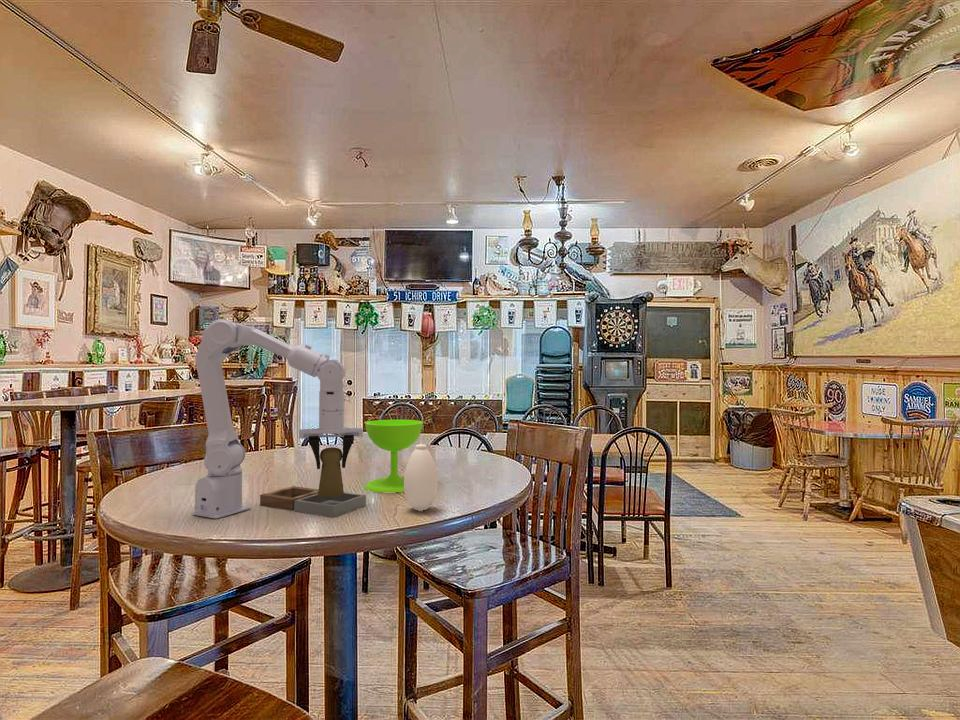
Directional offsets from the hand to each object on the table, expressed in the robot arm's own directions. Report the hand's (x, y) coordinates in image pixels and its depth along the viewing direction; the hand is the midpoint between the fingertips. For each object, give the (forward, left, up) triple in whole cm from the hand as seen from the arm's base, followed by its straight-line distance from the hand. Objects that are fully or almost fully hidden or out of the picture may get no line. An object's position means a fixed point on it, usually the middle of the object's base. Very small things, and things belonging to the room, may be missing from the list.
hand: (331, 467), depth 127 cm
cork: (+1, +1, -7) cm, 7 cm away
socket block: (0, +12, -10) cm, 15 cm away
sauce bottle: (+8, -20, -10) cm, 24 cm away
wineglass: (+26, 0, -10) cm, 28 cm away
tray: (0, 0, -10) cm, 10 cm away
